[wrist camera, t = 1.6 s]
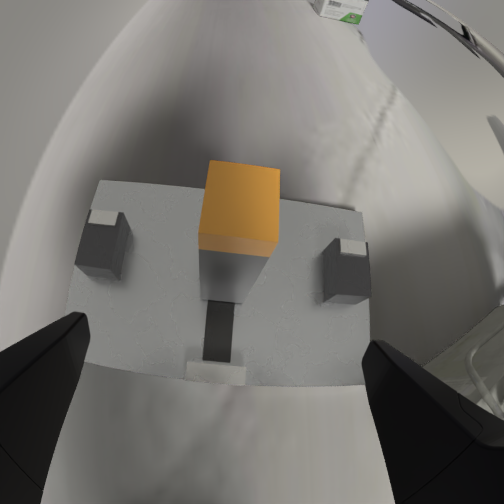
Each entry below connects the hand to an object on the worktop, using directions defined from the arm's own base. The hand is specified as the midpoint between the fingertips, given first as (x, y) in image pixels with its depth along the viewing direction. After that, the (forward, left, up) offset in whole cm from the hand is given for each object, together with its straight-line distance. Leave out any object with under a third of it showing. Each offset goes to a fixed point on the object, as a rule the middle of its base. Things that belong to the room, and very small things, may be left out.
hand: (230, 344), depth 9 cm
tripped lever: (+5, +2, -11) cm, 12 cm away
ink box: (+60, +11, -12) cm, 62 cm away
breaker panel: (+5, +2, -12) cm, 13 cm away
